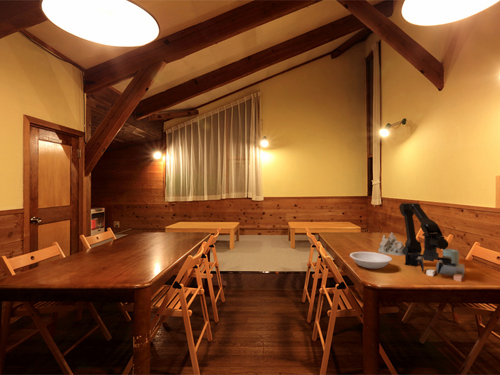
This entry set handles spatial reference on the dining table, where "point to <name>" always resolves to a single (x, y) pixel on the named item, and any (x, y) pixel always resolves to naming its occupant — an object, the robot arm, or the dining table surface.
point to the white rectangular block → (430, 272)
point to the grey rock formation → (391, 245)
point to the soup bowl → (371, 259)
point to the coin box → (451, 269)
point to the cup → (452, 254)
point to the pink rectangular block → (458, 277)
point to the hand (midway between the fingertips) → (430, 272)
